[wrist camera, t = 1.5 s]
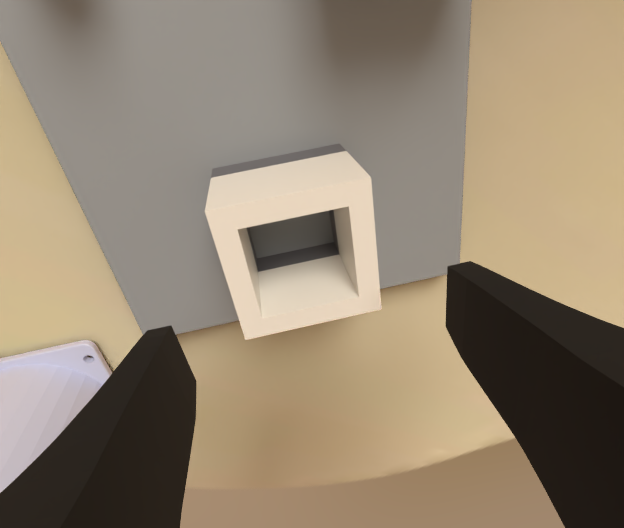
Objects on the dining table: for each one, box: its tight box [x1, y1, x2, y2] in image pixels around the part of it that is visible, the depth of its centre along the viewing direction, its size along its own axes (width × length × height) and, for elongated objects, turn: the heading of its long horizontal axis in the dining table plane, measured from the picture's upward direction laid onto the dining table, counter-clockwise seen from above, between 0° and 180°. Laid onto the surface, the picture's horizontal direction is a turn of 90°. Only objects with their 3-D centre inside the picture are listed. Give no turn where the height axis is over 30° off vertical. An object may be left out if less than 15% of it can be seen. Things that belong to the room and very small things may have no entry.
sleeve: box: [205, 143, 381, 340], centre depth 16 cm, size 5×5×4 cm
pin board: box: [0, 0, 472, 335], centre depth 14 cm, size 20×16×4 cm
